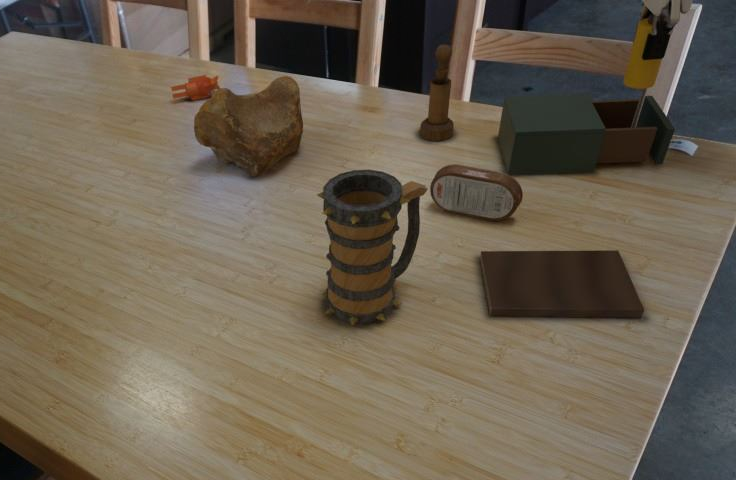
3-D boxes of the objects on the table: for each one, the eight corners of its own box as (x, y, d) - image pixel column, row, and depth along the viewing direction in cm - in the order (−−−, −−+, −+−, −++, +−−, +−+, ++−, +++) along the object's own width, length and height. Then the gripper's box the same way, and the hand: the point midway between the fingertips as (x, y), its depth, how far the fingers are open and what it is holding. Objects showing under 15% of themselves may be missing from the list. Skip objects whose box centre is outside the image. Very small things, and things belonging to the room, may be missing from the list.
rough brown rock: (222, 199, 132) (218, 130, 121) (191, 158, 143) (184, 92, 132) (326, 167, 138) (330, 98, 127) (289, 131, 148) (290, 64, 137)
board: (615, 258, 104) (618, 250, 103) (641, 318, 94) (644, 309, 93) (479, 258, 108) (480, 251, 107) (490, 316, 98) (491, 308, 97)
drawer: (648, 129, 128) (659, 94, 124) (670, 164, 119) (683, 128, 114) (565, 132, 131) (573, 99, 127) (580, 167, 122) (589, 132, 117)
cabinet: (576, 135, 132) (586, 92, 126) (593, 172, 121) (605, 128, 116) (497, 138, 135) (504, 96, 129) (507, 175, 124) (515, 131, 119)
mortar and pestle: (431, 124, 142) (439, 36, 130) (458, 131, 139) (469, 42, 126) (413, 136, 139) (419, 48, 127) (440, 144, 136) (450, 54, 123)
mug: (302, 296, 106) (296, 185, 93) (391, 258, 111) (398, 146, 97) (348, 342, 97) (349, 227, 84) (443, 299, 102) (459, 183, 88)
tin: (518, 218, 114) (527, 174, 109) (513, 227, 113) (522, 183, 107) (432, 201, 121) (436, 158, 116) (426, 209, 120) (430, 167, 114)
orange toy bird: (170, 82, 162) (219, 72, 162) (168, 81, 168) (215, 72, 169) (175, 104, 164) (222, 94, 164) (172, 102, 170) (218, 92, 171)
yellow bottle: (650, 76, 117) (669, 9, 109) (658, 87, 113) (679, 19, 106) (619, 78, 118) (637, 12, 110) (626, 89, 114) (645, 22, 107)
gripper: (732, -61, 93) (689, 70, 105) (692, -89, 105) (657, 32, 117) (672, -55, 94) (636, 74, 107) (639, -83, 107) (610, 35, 119)
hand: (647, 51), depth 112 cm, fingers closed on yellow bottle, 4 cm apart
